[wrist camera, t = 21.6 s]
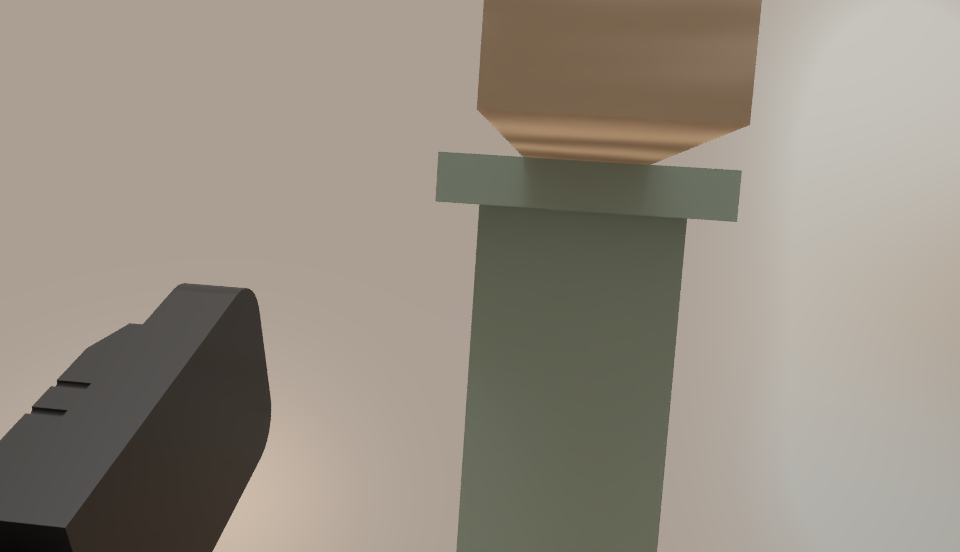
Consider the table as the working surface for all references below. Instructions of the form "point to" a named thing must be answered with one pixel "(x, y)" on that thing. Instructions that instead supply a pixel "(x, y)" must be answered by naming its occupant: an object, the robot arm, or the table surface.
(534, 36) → the wooden plank
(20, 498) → the robot arm
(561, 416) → the shelf stand
